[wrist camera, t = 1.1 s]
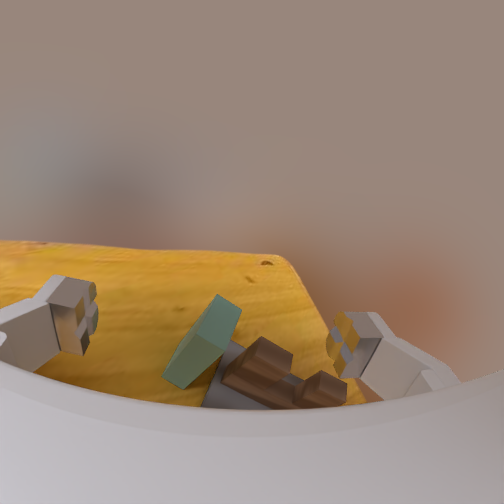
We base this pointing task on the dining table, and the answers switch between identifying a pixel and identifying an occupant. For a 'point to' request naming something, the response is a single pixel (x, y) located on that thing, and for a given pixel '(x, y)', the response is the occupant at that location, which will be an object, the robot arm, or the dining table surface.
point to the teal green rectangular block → (203, 342)
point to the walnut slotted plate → (268, 381)
